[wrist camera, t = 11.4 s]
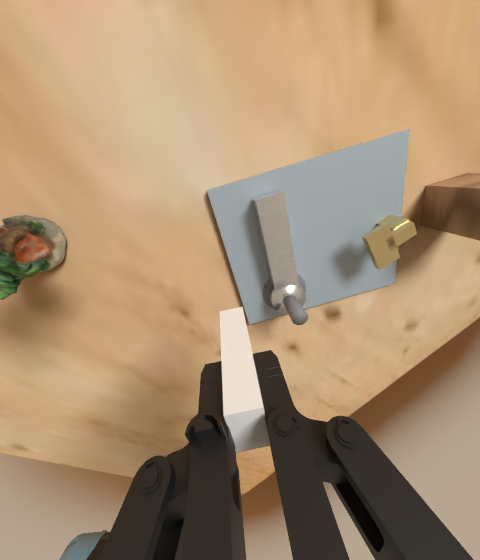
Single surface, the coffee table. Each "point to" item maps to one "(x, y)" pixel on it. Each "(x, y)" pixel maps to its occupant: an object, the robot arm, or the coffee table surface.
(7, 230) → the figurine
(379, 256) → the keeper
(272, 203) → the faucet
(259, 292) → the board
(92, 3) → the coffee table surface
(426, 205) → the block
